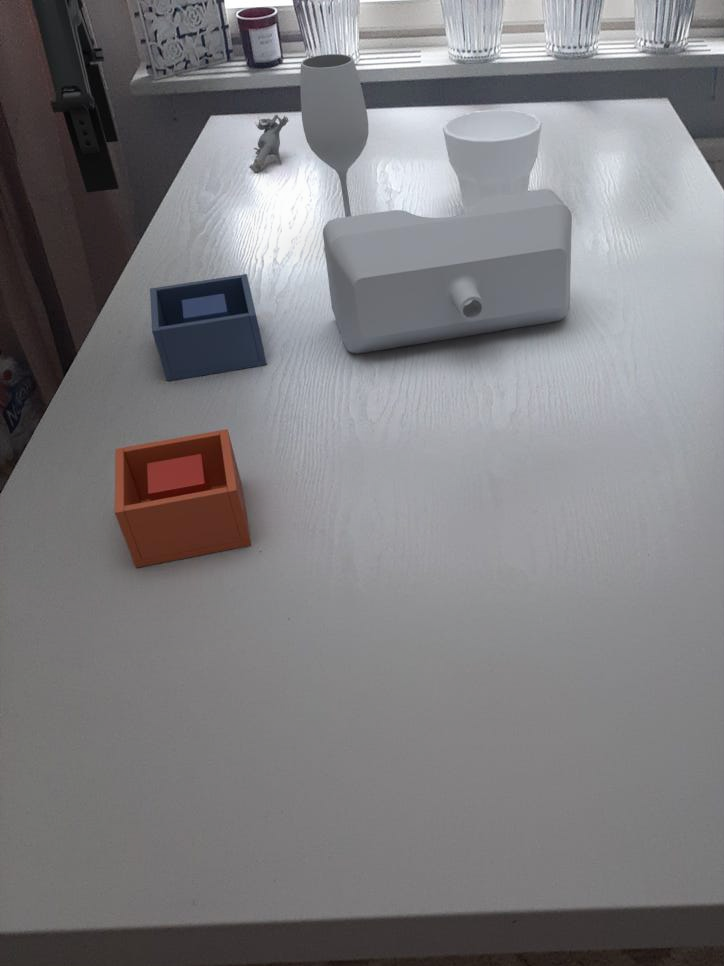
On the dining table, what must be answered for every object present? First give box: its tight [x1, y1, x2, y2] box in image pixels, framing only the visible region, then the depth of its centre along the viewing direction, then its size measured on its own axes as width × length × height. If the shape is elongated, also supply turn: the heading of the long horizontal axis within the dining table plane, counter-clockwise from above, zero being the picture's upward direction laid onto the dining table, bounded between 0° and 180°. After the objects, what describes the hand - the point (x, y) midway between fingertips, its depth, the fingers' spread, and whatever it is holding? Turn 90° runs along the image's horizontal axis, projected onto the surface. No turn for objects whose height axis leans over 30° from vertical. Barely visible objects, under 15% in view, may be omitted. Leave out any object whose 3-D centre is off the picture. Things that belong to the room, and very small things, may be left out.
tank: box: [322, 188, 573, 354], centre depth 101 cm, size 25×16×12 cm, turn 105°
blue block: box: [182, 294, 229, 323], centre depth 103 cm, size 4×4×4 cm
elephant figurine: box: [249, 114, 290, 174], centre depth 146 cm, size 10×6×9 cm
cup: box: [442, 109, 542, 214], centre depth 125 cm, size 12×12×11 cm
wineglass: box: [299, 53, 369, 252], centre depth 116 cm, size 8×8×21 cm
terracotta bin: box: [114, 428, 252, 569], centre depth 81 cm, size 9×9×6 cm
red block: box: [147, 454, 212, 501], centre depth 81 cm, size 4×4×4 cm
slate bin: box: [149, 273, 268, 382], centre depth 103 cm, size 10×10×6 cm
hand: (103, 164), depth 90 cm, fingers open, 13 cm apart
